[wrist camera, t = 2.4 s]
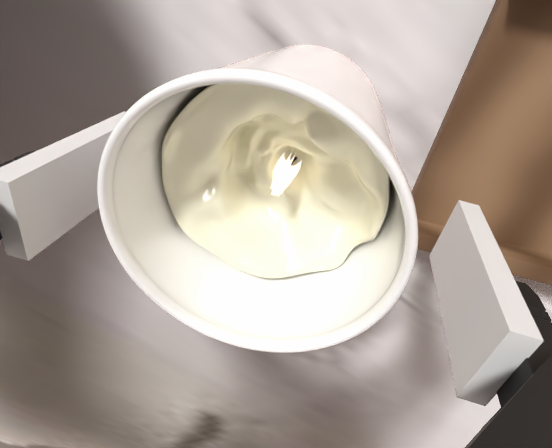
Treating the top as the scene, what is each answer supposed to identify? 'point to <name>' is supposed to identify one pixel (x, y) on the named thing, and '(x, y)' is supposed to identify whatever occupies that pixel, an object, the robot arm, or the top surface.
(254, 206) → the candle holder
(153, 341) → the top surface
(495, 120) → the brown wooden flat tray
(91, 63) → the top surface
